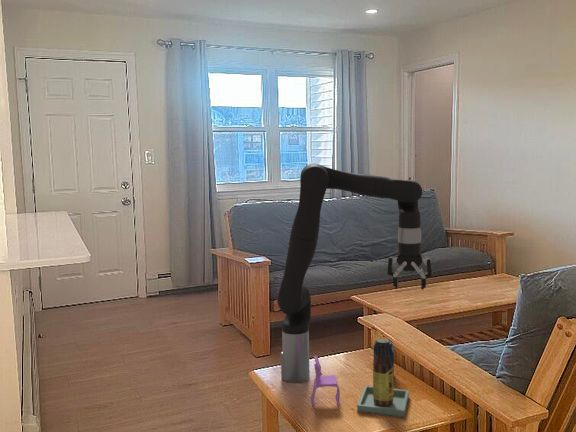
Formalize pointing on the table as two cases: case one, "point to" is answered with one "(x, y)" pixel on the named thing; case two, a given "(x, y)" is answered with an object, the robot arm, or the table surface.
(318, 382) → the chair
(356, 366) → the table surface
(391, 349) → the soda can
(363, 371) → the table surface
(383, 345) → the sauce bottle
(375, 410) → the tray
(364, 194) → the robot arm
